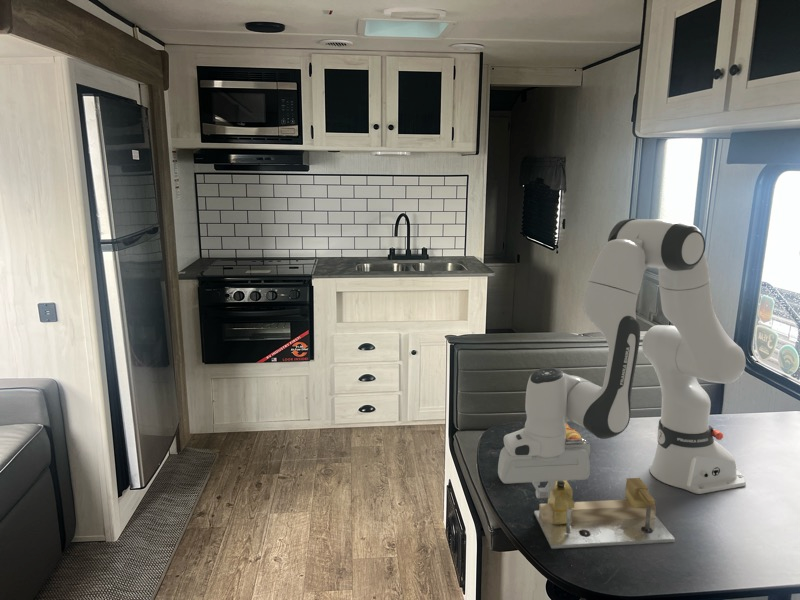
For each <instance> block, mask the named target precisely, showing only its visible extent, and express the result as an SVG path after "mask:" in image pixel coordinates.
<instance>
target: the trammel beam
mask: <svg viewBox="0 0 800 600" xmlns="http://www.w3.org/2000/svg"><path fill="white" fill-rule="evenodd" d="M625 481H626V482H625V483H626V484H625V496H624V498H625V499H612V500H611V499H610V500H608V499H607V500H590V501H589V500H588V501H574V503H575V504H574V508H572V522H575V521H594V520H613V519H633V518H646V521H645V529H647V530H649V527H650V518H652V517H655V515H656V508H657V506H656V504H655V503H656V500H655V498H654V497H653V496H652V495H651V494H650V493H649V487H648V485H646V483H644V481H643V480H642V479H641V478H640V477H629V478H626V480H625ZM538 505H539V509H538V511H539V516H540V518H541V520H542V522H543V523H554V522H553V515H554V510H553V508H552V506H551V505H550V503H548V502H547V503H539V504H538Z"/></svg>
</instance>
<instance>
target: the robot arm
mask: <svg viewBox="0 0 800 600" xmlns="http://www.w3.org/2000/svg"><path fill="white" fill-rule="evenodd" d="M608 235H609V236H608V239H607V242H606V243H605V244H604V245H603V246H602V248H601V250H600V252H599V254H598V255H597V257H596V259H595V262H594V263H593V266H592V268H591V271H590V274H589V277H588V278H587V282H586V286H585V288H584V291H583V295H582V296H583V297H582V309H583V311H584V314H585V316H586V318H587V319H588V321H589V322H590V323H591V324H592V325H593V326H594V327H595V328H596V329H597V330H598V331H599V332H600V333H601V334H602V335H603V337H604V339H605V340H606V344H607V348H608V355H607V361H606V362H607V363H606V367H605V373H604V378H603V385H602V386H600V385H598V384H595V383H594V382H592V381H590V380H587V379H586V378H583V377H580V376H578V375H570V374H567V373H565V372H564V371H563V370H562V369H560V368H558V367H557V368H556V367H541V368H538V369H537V370H534V371H533V372H532V373H531V374H530V376H529V378H528V381H527V386H526V390H525V391H526V392H525V405H524V406H525V408H524V409H525V412H526V421H525V423H524V427H523V428H521V429H519V430H516V431H512V432H511V433H507V434H505V435H504V436H503V444H504V446H503V447H502V448H501V450H500V452H499V456H498V457H499V458H498V465H497V474H498V477H499V479H500V481H501V482H502V483H503V484H522V483H523V484H524V483H531V484H532V485H533V488H534V489H535V496H536V497H535V498H537V499H548V498H550V491H551V490H552V489H553V488H554V486H555V485H556V481H567V482H568V481H583V480H587V479H588V478H589V476H590V475H591V473H590V472H591V468H590V467H591V466H590V459H589V456H590V454H591V444H590V442H589V441H587V440H586V439H585V438H583V439H565V437H566V426H565V424H566V423H567V424H568V422H573V423H575V424H576V425H578V426H581V427H582V428H584V429H586V431H588V432H589V433H591V434H592V435H593V436H595V437H597V438H598V439H601V440H605V439H606V440H607V439H612V438H614V437H616V436H619V435H620V434H622V433H623V432H624V431H625V430H626V429H627V428H628V426H629V423H630V420H631V411H632V409H631V408H632V407H631V404H632V402H631V399H632V398H631V397H632V391H633V384H634V377H635V373H636V367H637V361H638V354H639V348H640V340H641V327H640V324H639V322H638V321H637V315H636V313H637V312H636V309H637V302H638V297H639V295H640V290H641V287H642V284H643V280H644V274H645V271H646V270H647V269H657V270H658V271H657V273H658V286H659V287H658V288H659V295H660V297H659V298H660V305H661V311H662V314H663V316H664V317H665V319H666V320H667V321H669V322H670V323H671V324H672V325H671V324H670V325H669V324H668V325H667V324H656V325H653V326H652V327H650V328H649V329H648V330H647V331H646V332H645V334H644V335H643V339H642V343H641V347H642V353H643V354H644V355H643V356H645V358H646V359H648V362H650V363H651V366H652V367H653V369H654V371H655V373H656V376H657V378H658V381H659V385H660V390H661V411H660V413H661V414H660V419H659V421H658V426H657V446H656V450H655V453H654V457H653V460H652V462H651V465H650V467H649V472H650V474H651V475H652V476H653V477H654V478H655V479H657V481H660V482H662V483H664V484H667V485H670V486H672V487H676V488H680V489H683V490H686V491H688V492H691V493H693V494H697V495H699V494H701V495H702V494H706V493H713V492H718V491H719V492H720V491H723V490H729V489H735V488H740V487H745V486H746V482H747V481H746V480H747V479H746V478H745V476H744V474H743V473H741V471H740V470H739V469H738V468H737V464H736V460H735V458H734V456H733V455H732V453H730V452H729V450H727V449H726V448H725V447H724V446H722V445H721V444H720V443H719V442H717V441H716V440H718V441H720V440H723V439H724V433H722V431H720V430H718V429H714V427H712V426H711V425H710V416H711V415H710V414H711V405H712V403H711V399H710V396H709V394H708V393H707V391H705V389H704V388H703V387H702V386H701V384H700V383H699V382H698V379H699V380H702V381H705V382H709V383H716V384H725V385H727V384H732V383H734V382H736V381H737V380H739V378H740V377H741V376H742V374H743V373H744V371H745V368H746V362H747V361H746V355H745V352H744V350H743V349H742V347H741V346H739V344H737V343H736V342H735V341H734V340H733V339H732V338H731V337H730V336H729V334H727V332H726V331H725V329H724V327H723V325H722V324H721V322H720V320H719V319H718V316H717V315H716V311H715V309H714V308H715V307H714V304H713V303H714V302H713V295H712V287H711V277H710V276H711V275H710V269H709V264H708V263H709V262H708V259H707V255H706V251H705V250H706V241H705V240H706V239H705V237H704V235H703V233H702V231H701V229H699V227H697V226H696V225H693V224H691V223H688V222H684V221H678V222H677V221H675V220H669V219H662V218H661V219H659V218H654V219H653V218H652V219H650V218H647V219H646V218H645V219H644V218H643V219H642V218H641V219H638V218H627V219H623V220H620V221H618V222H617V223H616V224H615V225H614V226H613V228H612V229H611V230H610V233H609V234H608ZM714 438H715V439H716V440H715V439H714ZM541 482H543V483H544V482H545V483H546V482H547V483H546V485H545V487H539V486H540V485H541Z"/></svg>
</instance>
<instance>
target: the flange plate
mask: <svg viewBox="0 0 800 600" xmlns="http://www.w3.org/2000/svg"><path fill="white" fill-rule="evenodd" d="M533 514H534V516H535V518H536V521H537V523H538V525H539V526H540V528H541V530H542V532H543V534H544V536H545V538H546V540H547V542H548V545H549V546H550V548H551V549H553V550H555V549H569V548H571V549H573V548H587V547H589V548H590V547H591V548H592V547H606V546H607V547H608V546H623V545H624V546H627V545H642V544H644V545H645V544H659V543H660V544H662V543H663V544H665V543H675V542H676V541H675V540H676V538H675V537H674V536H673V535H672V533H671V532H670V531H669V529H667V528H666V526H665V525H664V524H663V523H662V521H661V520H660V519H659V518H658V516H657V515H656V514H655V517H652V518H650V527H649V530H647V529H645V521H646V518H633V519H613V520H594V521H575V522H572V523H571V529H570V534H567V533H566V523H563V524H554V523H543V522H542V520H541V518H540V516H539V510H534V511H533Z"/></svg>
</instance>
